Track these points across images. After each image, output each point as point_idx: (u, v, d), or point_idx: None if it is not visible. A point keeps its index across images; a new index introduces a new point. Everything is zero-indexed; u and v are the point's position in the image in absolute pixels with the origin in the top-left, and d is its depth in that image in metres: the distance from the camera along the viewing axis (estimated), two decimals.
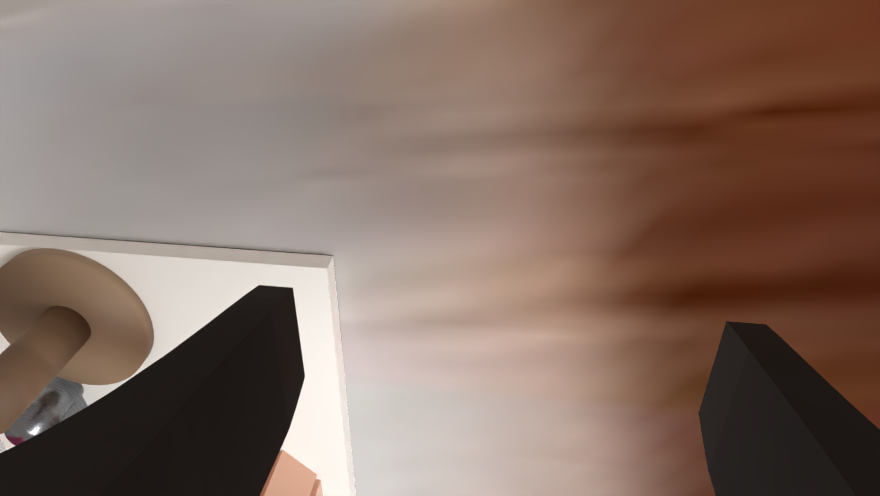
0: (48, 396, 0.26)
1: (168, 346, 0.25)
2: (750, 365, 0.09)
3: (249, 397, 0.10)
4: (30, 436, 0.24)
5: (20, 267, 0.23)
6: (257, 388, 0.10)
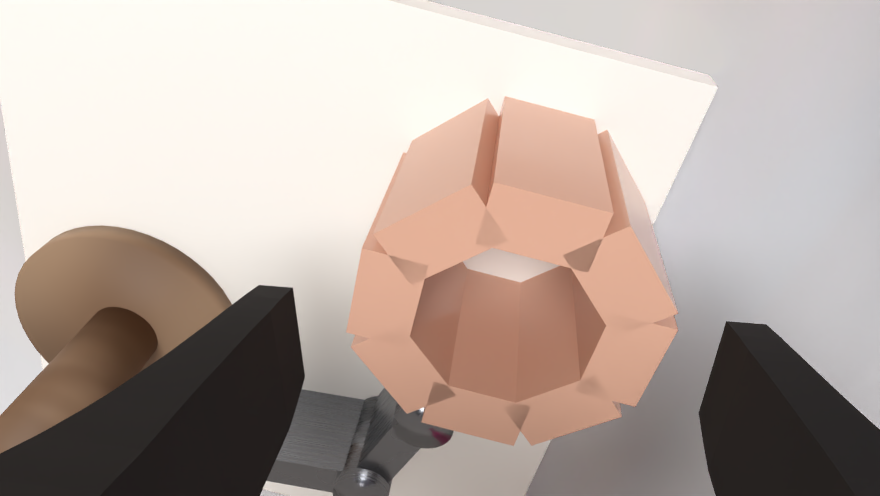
0: None
1: (177, 228, 0.16)
2: (750, 365, 0.09)
3: (249, 397, 0.10)
4: None
5: (38, 337, 0.18)
6: (257, 388, 0.10)
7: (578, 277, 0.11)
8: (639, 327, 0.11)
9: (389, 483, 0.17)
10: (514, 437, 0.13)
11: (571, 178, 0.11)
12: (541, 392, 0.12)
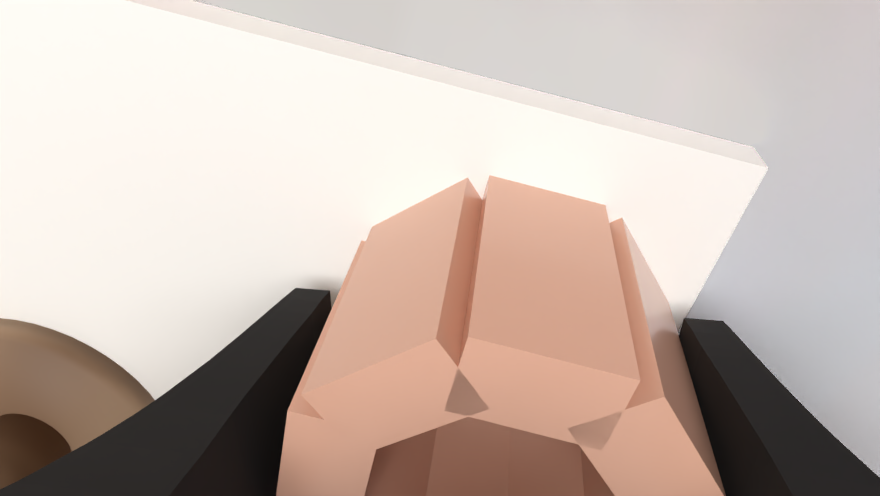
0: None
1: (87, 323, 0.13)
2: (703, 361, 0.09)
3: None
4: None
5: None
6: None
7: (588, 455, 0.08)
8: None
9: None
10: None
11: (578, 316, 0.08)
12: None
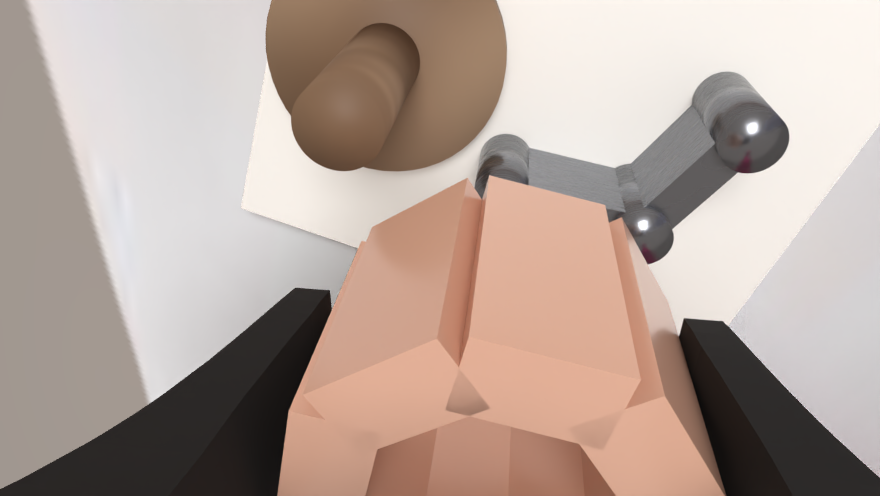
0: (483, 162, 0.16)
1: None
2: (703, 361, 0.09)
3: (291, 400, 0.10)
4: None
5: (279, 62, 0.16)
6: None
7: (589, 454, 0.08)
8: None
9: None
10: None
11: (578, 316, 0.08)
12: None
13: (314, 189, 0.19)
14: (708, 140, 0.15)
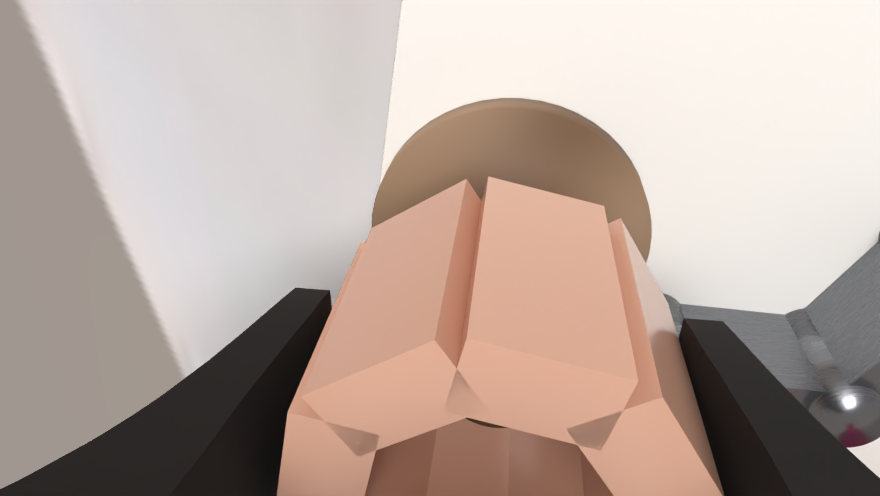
0: None
1: (603, 93, 0.13)
2: (702, 361, 0.09)
3: (291, 400, 0.10)
4: None
5: None
6: None
7: (587, 455, 0.08)
8: None
9: None
10: None
11: (576, 317, 0.08)
12: None
13: None
14: None
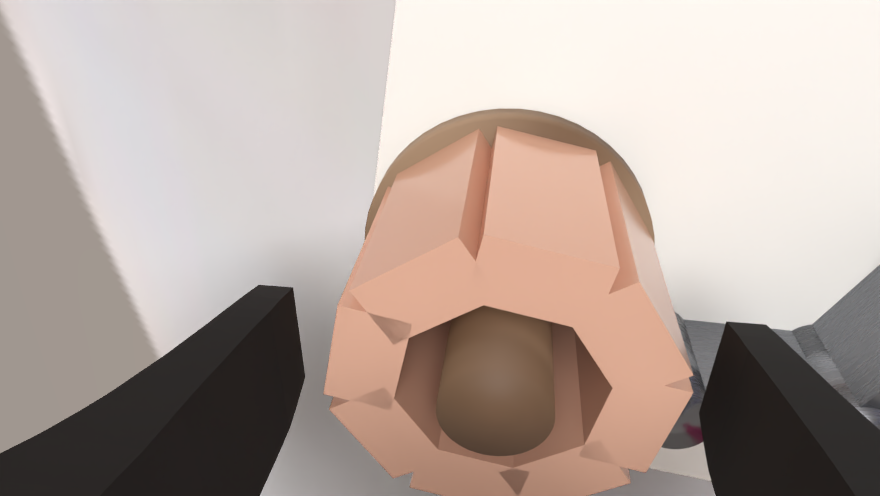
0: None
1: (604, 103, 0.12)
2: (750, 365, 0.09)
3: (249, 397, 0.10)
4: None
5: None
6: (257, 388, 0.10)
7: (580, 336, 0.10)
8: (650, 389, 0.10)
9: None
10: None
11: (571, 225, 0.10)
12: (541, 456, 0.11)
13: None
14: None
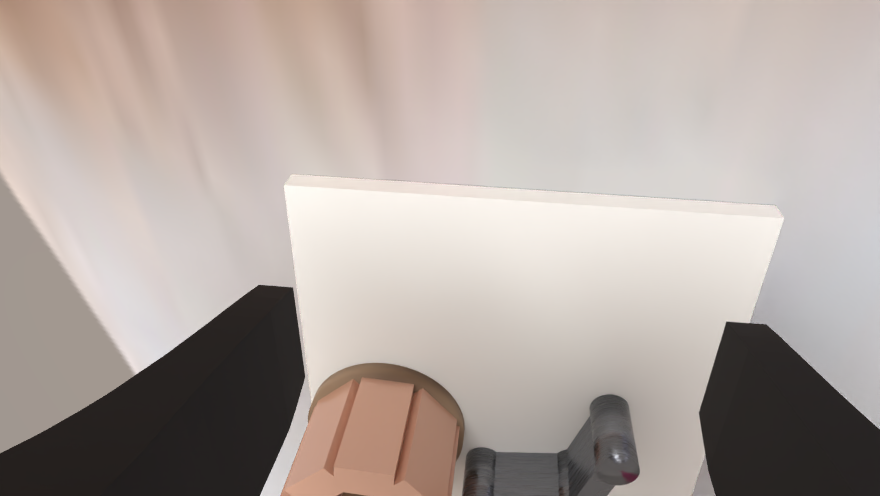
0: (464, 479, 0.25)
1: (416, 357, 0.23)
2: (750, 365, 0.09)
3: (249, 397, 0.10)
4: None
5: None
6: (257, 388, 0.10)
7: None
8: None
9: None
10: None
11: (379, 450, 0.21)
12: None
13: None
14: (594, 463, 0.22)
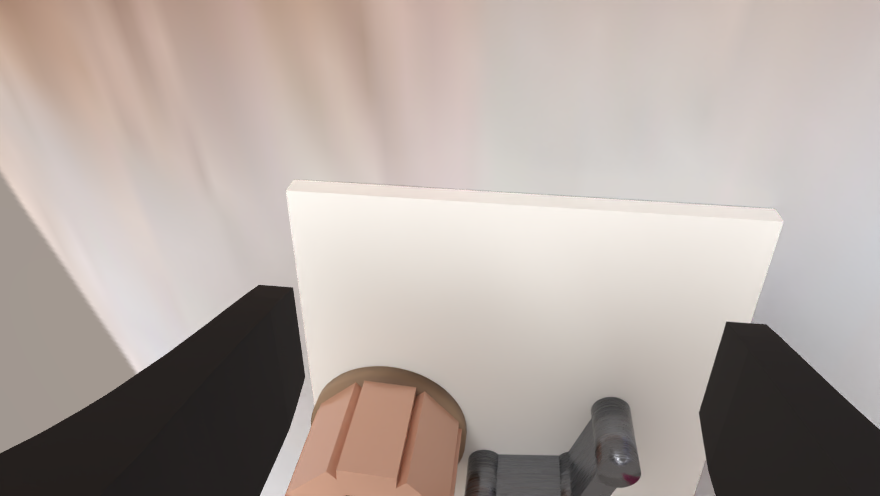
0: (467, 482, 0.25)
1: (418, 361, 0.24)
2: (750, 365, 0.09)
3: (249, 396, 0.10)
4: None
5: None
6: (257, 388, 0.10)
7: None
8: None
9: None
10: None
11: (381, 453, 0.21)
12: None
13: None
14: (596, 465, 0.22)
